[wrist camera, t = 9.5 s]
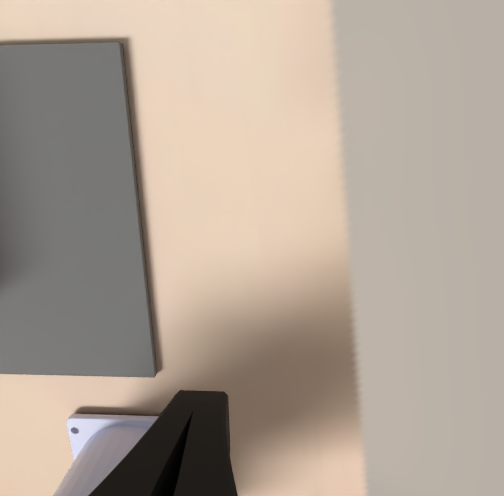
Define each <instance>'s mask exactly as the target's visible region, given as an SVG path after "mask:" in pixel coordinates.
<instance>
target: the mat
mask: <svg viewBox="0 0 504 496" xmlns="http://www.w3.org/2000/svg"><path fill="white" fill-rule="evenodd" d="M0 374H30V375H71V376H113V377H155V376H156V374H157V370H156V360H155V351H154V341H153V331H152V322H151V312H150V303H149V293H148V284H147V274H146V264H145V255H144V245H143V236H142V226H141V217H140V207H139V198H138V188H137V178H136V169H135V159H134V150H133V140H132V131H131V121H130V112H129V102H128V92H127V83H126V73H125V64H124V54H123V45H122V44H121V43H120V42H103V43H65V44H28V45H0Z"/></svg>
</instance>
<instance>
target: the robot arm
mask: <svg viewBox="0 0 504 496" xmlns="http://www.w3.org/2000/svg"><path fill="white" fill-rule="evenodd" d="M66 424H67V429H68V434H69V439H70V443H71V448H72V453H73V458H74V462H73V464H72V465H71V467H70V469H69V470H68V472H67V474H66V475H65V477H64V478H63V480H62V482H61V483H60V485H59V487H58V488H57V490H56V492H55V493H54V495H53V496H238V495H237V491H236V486H235V482H234V477H233V472H232V467H231V461H230V432H229V407H228V395H227V394H226V393H225V392H217V391H184V390H180V391H179V392H178V393H177V394H176V395H175V396H174V398H173V399H172V400H171V402H170V403H169V404H168V405H167V407H166V408H165V409H164V411H163V412H162V413H161V414H160V416H133V415H100V414H72V415H70V417H69V418H68V419H67V423H66ZM76 428H77V429H76Z"/></svg>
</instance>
